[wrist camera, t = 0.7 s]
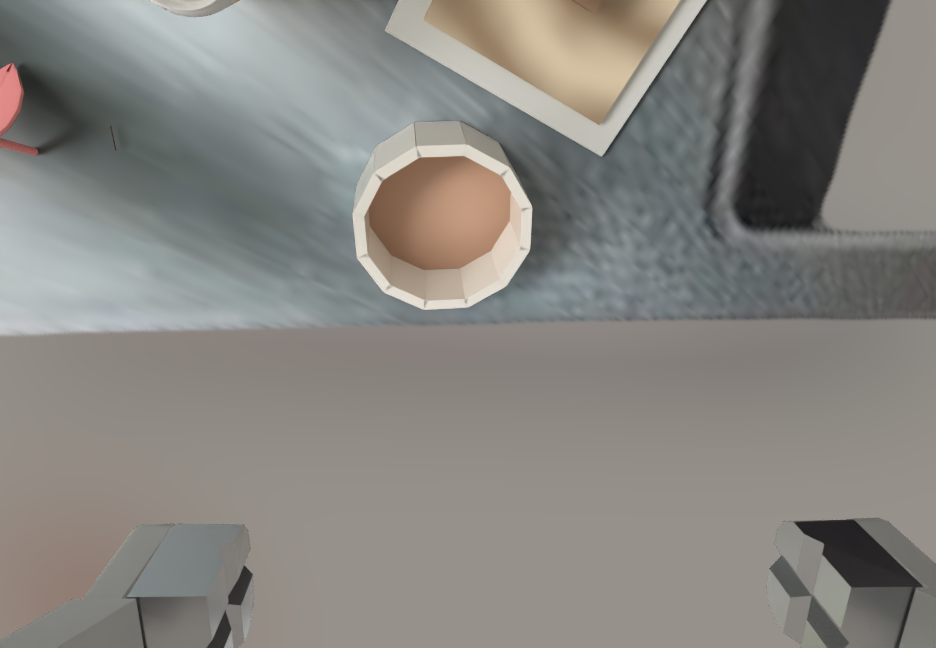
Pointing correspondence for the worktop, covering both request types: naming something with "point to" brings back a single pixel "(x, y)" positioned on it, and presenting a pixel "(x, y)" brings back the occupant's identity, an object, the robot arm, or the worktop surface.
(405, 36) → the mat
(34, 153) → the figurine
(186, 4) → the beer can
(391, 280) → the bowl
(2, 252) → the worktop surface
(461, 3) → the lid
